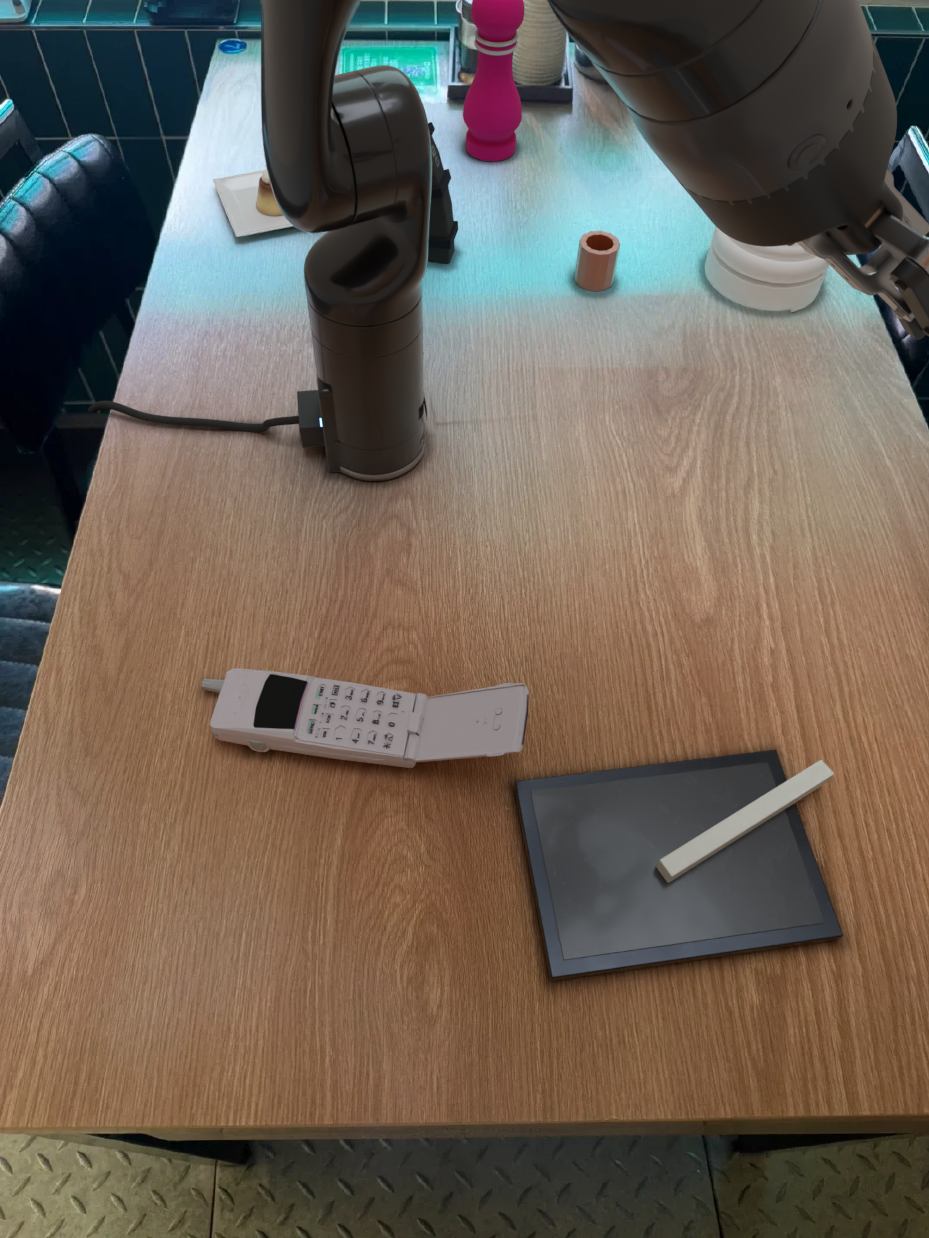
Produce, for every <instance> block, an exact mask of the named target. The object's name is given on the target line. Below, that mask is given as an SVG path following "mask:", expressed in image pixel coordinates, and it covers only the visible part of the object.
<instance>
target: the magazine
mask: <svg viewBox="0 0 929 1238" xmlns="http://www.w3.org/2000/svg"><path fill="white" fill-rule="evenodd" d="M428 127H429V132H430V139H431V152H432V188H431V204H430V220H429V241H428V263H429V262H430V263H434V264H435V263H436V264H441V265H449V264H450V263H451V261H452V258H453V256H454V253H455V239H456V237H457V234H458V231H459V221H458V220H454V212H453V202H452V198H451V197H452V196H451V193H450V188H449V184H450V182H451V180H452V176H451V172H450V169H449V168H446V169H444V165H443V161H442V157H441V154H440V151H439V148H438V146H437V144H436V142H435V140H434V137H433V135H434V132H435V130H436V128H435V126H434V124H433V122H432V121H430V122H428Z"/></svg>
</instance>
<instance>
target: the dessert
mask: <svg viewBox="0 0 929 1238" xmlns="http://www.w3.org/2000/svg"><path fill="white" fill-rule="evenodd" d="M212 182H213V184H214V187H215V189H216V192H217V194H218V196H219V199H220V201H221V203H222V206H223V208H224V211H225V213H226V216H227V217H228V220H229V223H230V225H231V227H232V230H233V233H234V235H235V237H236V238H240V237H247V236H253V235H259V234H263V233H268V232H273V231H278V230H283V229H288V228H289V229H290V228H293V227H294V226H293V225H292V224H291V223H290V222H289V221H288V220H287V219H286V218H285V216H284V215H283V213H282V212H281V210H280V208H279V206H278V204H277V202H276V200H275V197H274V194H273V191H272V188H271V185H270V181H269V177H268V173H267V169H262V170H257V171H251V172H247V173H241V174H234V175H230V176H223V177H218V178H213V179H212ZM294 228H295V227H294Z"/></svg>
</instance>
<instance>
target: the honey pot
mask: <svg viewBox="0 0 929 1238" xmlns="http://www.w3.org/2000/svg"><path fill="white" fill-rule="evenodd" d="M829 266H830V265H829V264H828V263H827V262H826V261H825V260H824V259H822V258H819V257H817V256H815V255H812V254H810V253H808V252H806V251H805V250H804V249H803V248H802V247H801V246H800V245H799V244H798V243H795V244H793V245H791V246H788V245H783V246H773V247H763V246H754V245H749V244H745V243H742V242H739V241H737V240H735V239H733V238H731V237H729V236H727V235H726V234H724V233H723V232H722V231H721V230H719V229H718V228H717V227H716V226H715V225H714V230H713V232H712V237H711V239H710V244H709V247H708V250H707V255H706V258H705V263H704V266H703V268H704V273H705V277H706V279H707V280H708V282H709V284H710V285H711V287H712V288H714V290H716V291H717V292H718V293H719V294H720V295H722V296H723V297H725V298H727V299H728V300H730V301H732V302H733V303H736V304H739V305H741V306H744V307H746V308H750V309H755V310H761V311H771V312H772V311H773V312H781V311H790V313H794V312H797V311H800V310H802V309H805V308H806V307H808V306H809V305H810V304H812V303H813V302H815V299H816V298H817V296H818V294H820V290H821V289H822V285H823V282H824V280H825V277H826V276H827V272H828V270H829Z"/></svg>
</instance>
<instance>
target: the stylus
mask: <svg viewBox="0 0 929 1238" xmlns="http://www.w3.org/2000/svg"><path fill="white" fill-rule="evenodd" d="M834 775H835V773H834V771H833V770H832V769H830V767H829V766H828V765H827V764H826V762H825V761H824V760H823V759H819V760H818V761H816V762H815V763H813V764H811V765H810V766H808V767H807V768H804V769H803V770H801V771H800V772H798V773H797V774H795V775H793V776H791V777H790V778H788V779H787V781H785V782H784V783H782V784H781V785H779V786H777V787H776V788H774V789H773V790H771V791H769V792H768V793H766V794H765V795H763V796H761V797H760V798H758V799H757V800H755V801H753V802H752V803H750V804H748V805H747V806H745V807H744V808H742V809H740V810H739V811H737V812H736V813H734V814H732V815H731V816H729V817H728V818H726V819H724V820H723V821H721V822H720V823H718V824H716V825H715V826H713V827H711V828H710V829H708V830H707V831H705V832H703V833H702V834H700V835H699V836H697V837H695V838H694V839H692V840H691V841H689V842H687V843H686V844H684V845H683V846H681V847H679V848H678V849H676V850H674V851H673V852H671V853H670V854H668V855H666V856H665V857H663V858H662V859H660V860H659V862H658V864H657V866H656V868H657V869H658V870H659V872H660V873H661V874H662V876H663V877H664V878H665V880H666V881H667V882H668V883H669V882H671V881H673V880H674V879H676V878H677V877H679V876H681V875H682V874H684V873H685V872H687V871H688V870H690V869H692V868H693V867H695V866H696V865H698V864H699V863H701V862H703V861H704V860H706V859H707V858H709V857H710V856H712V855H714V854H715V853H717V852H718V851H720V850H722V849H723V848H725V847H726V846H728V845H729V844H731V843H733V842H734V841H736V840H737V839H739V838H740V837H742V836H744V835H745V834H747V833H748V832H750V831H752V830H753V829H755V828H756V827H758V826H759V825H761V824H763V823H764V822H766V821H767V820H769V819H770V818H772V817H774V816H775V815H777V814H778V813H780V812H781V811H783V810H785V809H786V808H788V807H789V806H791V805H793V804H794V803H795V804H796V803H798V802H799V801H800V800H802V799H804V798H805V797H807V796H808V795H810V794H811V793H813V792H815V791H816V790H818V789H819V788H821V787H823V786H824V785H826V784H827V783H829V782H830V780H831V779H832V778H833V776H834Z"/></svg>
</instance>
